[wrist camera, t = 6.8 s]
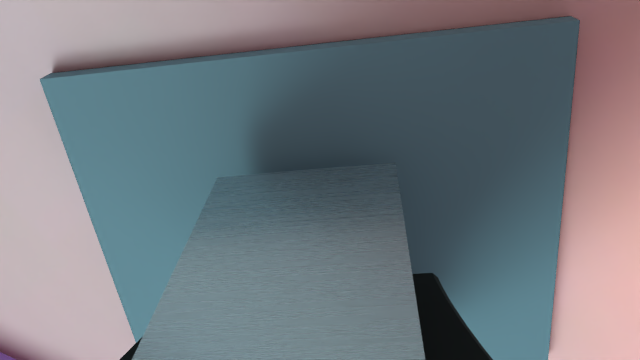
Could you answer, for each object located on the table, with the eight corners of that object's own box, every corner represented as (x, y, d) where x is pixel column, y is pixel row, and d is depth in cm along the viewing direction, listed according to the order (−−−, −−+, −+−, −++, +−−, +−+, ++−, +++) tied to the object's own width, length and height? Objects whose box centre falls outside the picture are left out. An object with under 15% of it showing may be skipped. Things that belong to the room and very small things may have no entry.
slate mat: (571, 16, 12) (579, 20, 11) (541, 357, 16) (546, 370, 16) (50, 73, 13) (39, 79, 12) (157, 374, 17) (152, 387, 17)
